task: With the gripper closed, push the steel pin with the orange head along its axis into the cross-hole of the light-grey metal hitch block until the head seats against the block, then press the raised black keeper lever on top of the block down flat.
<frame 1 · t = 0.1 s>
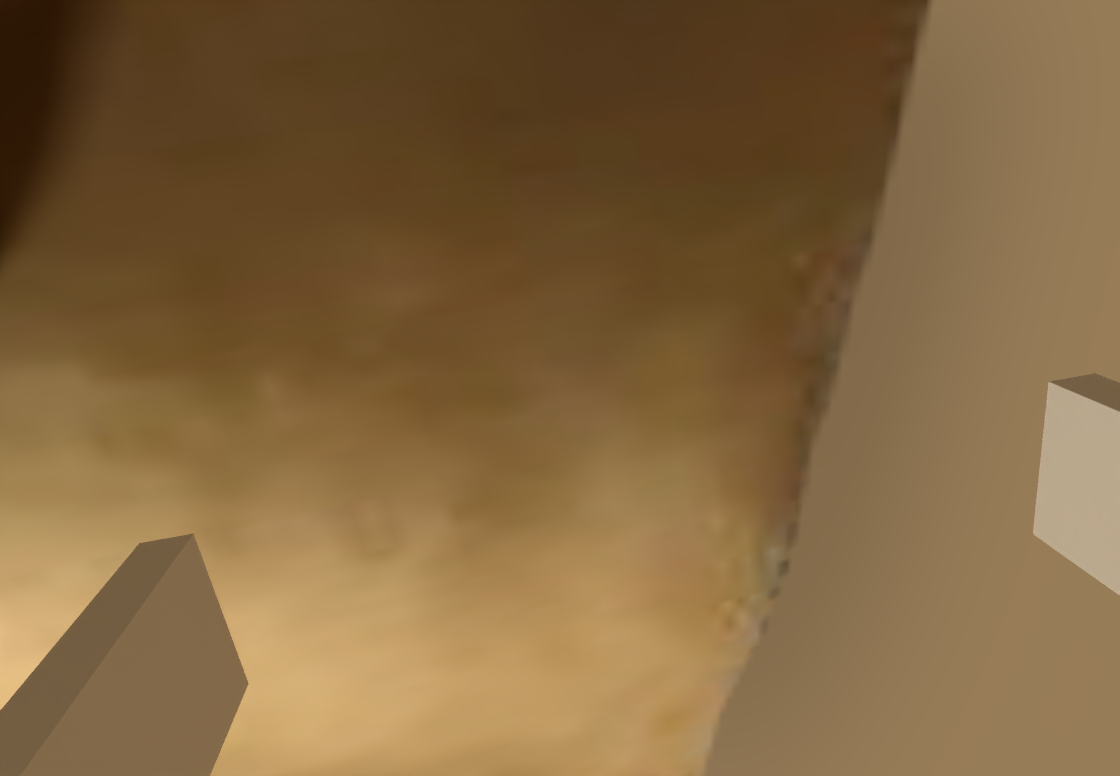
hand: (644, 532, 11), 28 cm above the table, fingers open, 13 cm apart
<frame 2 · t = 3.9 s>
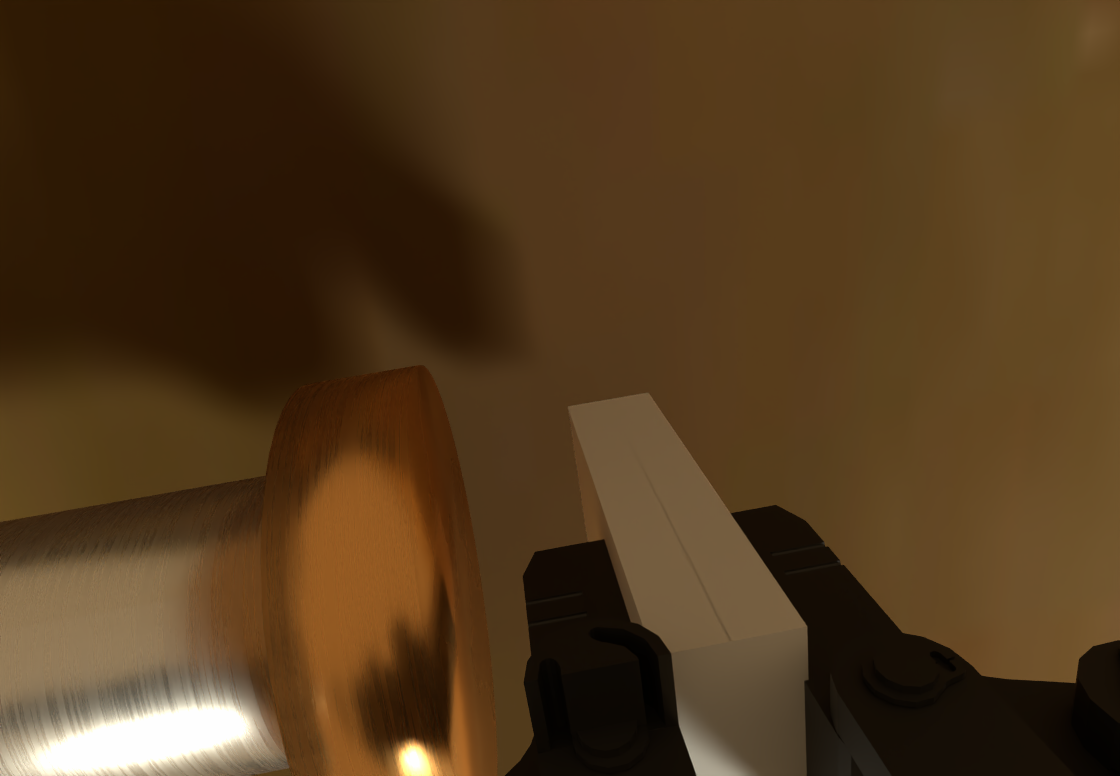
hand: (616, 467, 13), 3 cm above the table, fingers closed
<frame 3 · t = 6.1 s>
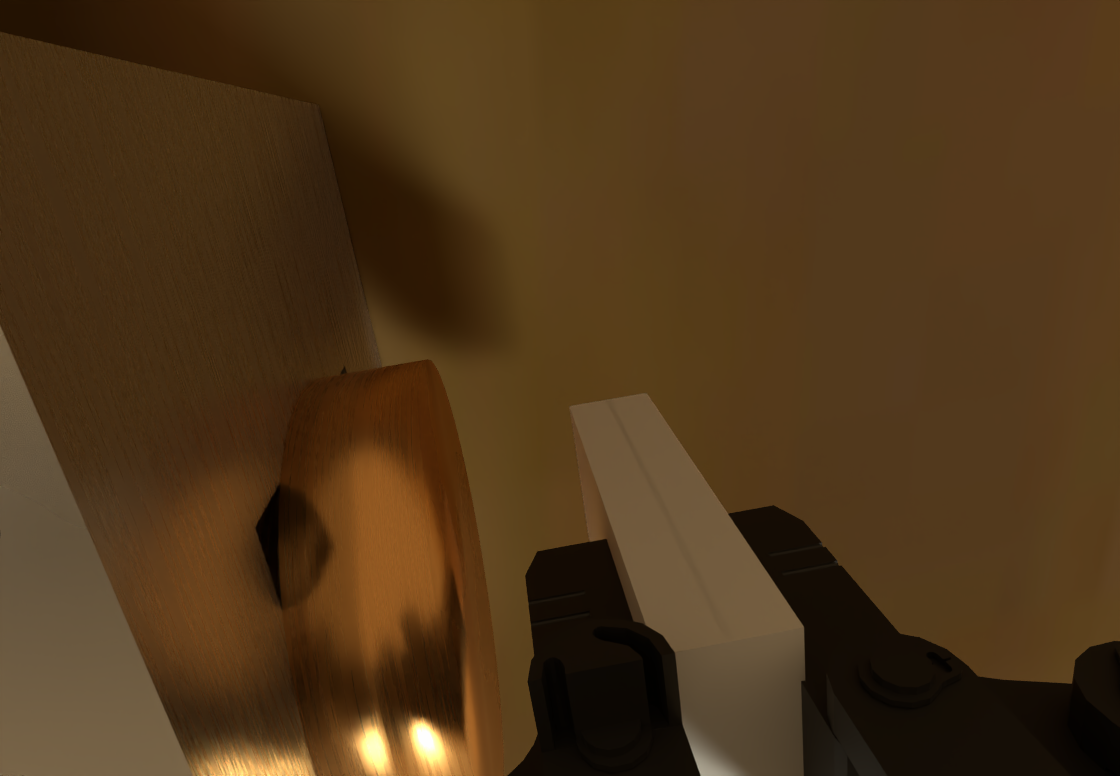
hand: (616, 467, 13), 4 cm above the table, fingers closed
hitch block: (173, 473, 16), on the table
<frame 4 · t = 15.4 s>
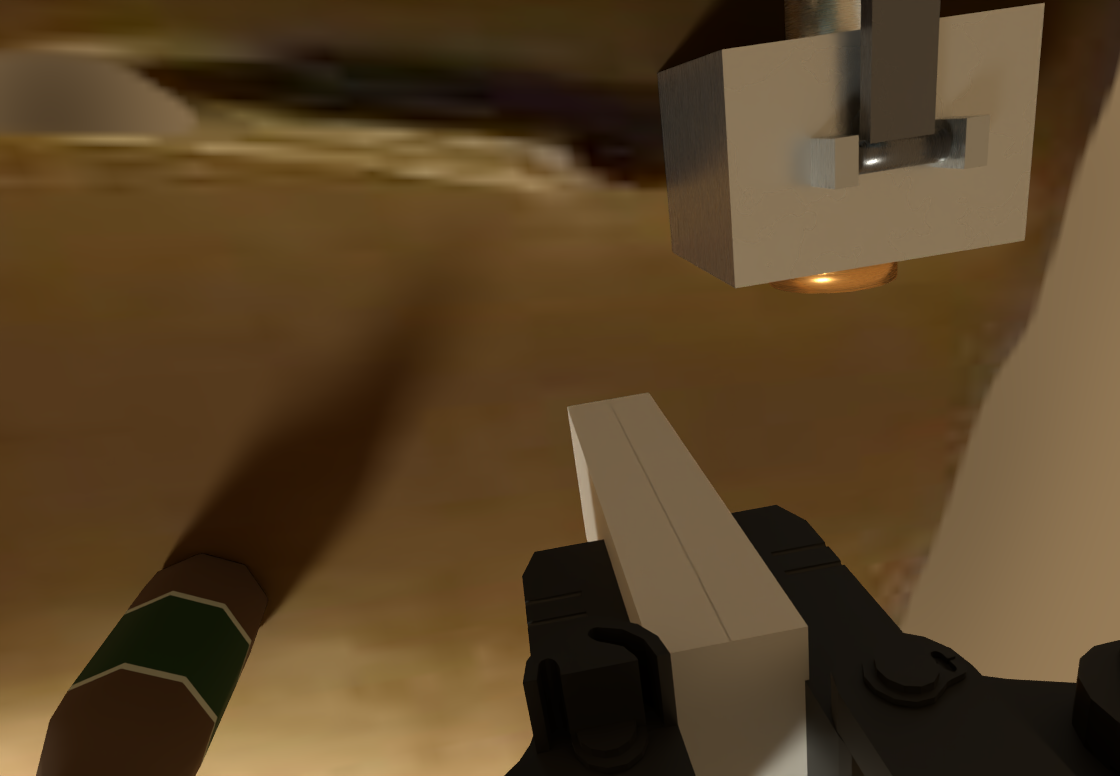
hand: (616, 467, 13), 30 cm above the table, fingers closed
beer bottle: (211, 598, 47), on the table
keeper: (898, 66, 29), point 12 cm above the table, hinge at 0.5°
pin: (829, 103, 35), point 6 cm above the table, slide at 10.0 cm, touching hitch block
hitch block: (782, 148, 42), on the table
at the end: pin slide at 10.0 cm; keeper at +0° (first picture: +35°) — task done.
